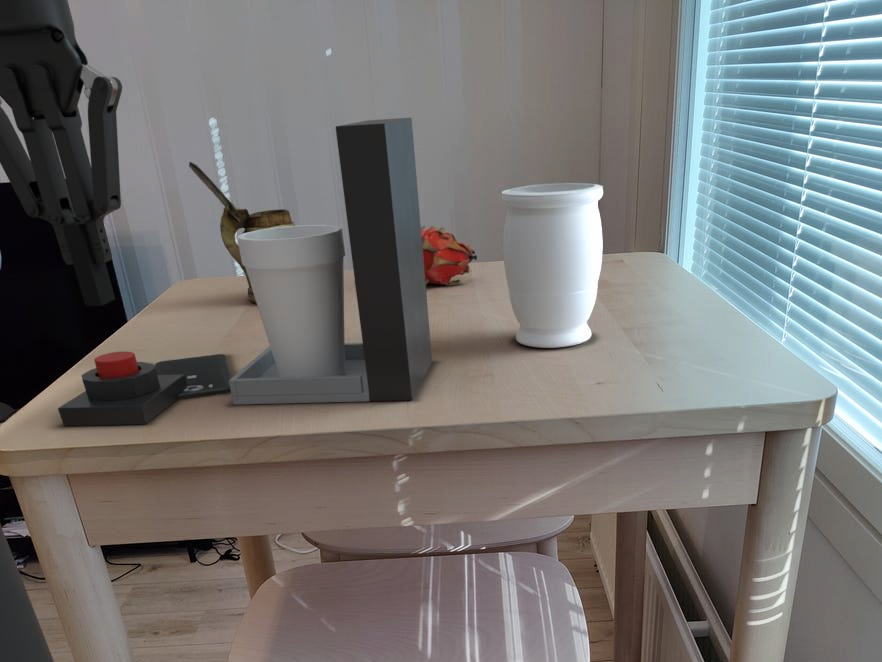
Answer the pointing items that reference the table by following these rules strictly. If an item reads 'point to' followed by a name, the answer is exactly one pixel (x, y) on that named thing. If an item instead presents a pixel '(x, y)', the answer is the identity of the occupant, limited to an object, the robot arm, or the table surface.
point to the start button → (116, 364)
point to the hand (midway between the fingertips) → (100, 302)
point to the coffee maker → (369, 280)
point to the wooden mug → (242, 221)
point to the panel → (122, 398)
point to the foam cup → (299, 295)
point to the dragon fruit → (444, 256)
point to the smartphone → (199, 374)
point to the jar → (552, 260)
